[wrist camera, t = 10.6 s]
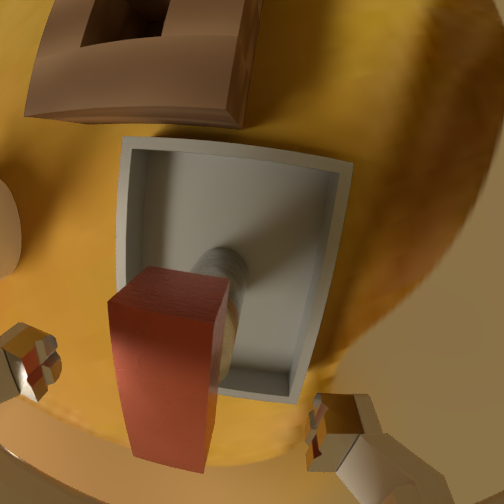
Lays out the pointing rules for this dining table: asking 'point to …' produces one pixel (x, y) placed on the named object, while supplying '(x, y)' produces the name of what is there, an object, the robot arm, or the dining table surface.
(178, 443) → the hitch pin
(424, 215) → the dining table surface
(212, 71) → the wooden square hole block
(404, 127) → the dining table surface
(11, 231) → the base with upright slab
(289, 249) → the tray
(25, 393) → the robot arm
